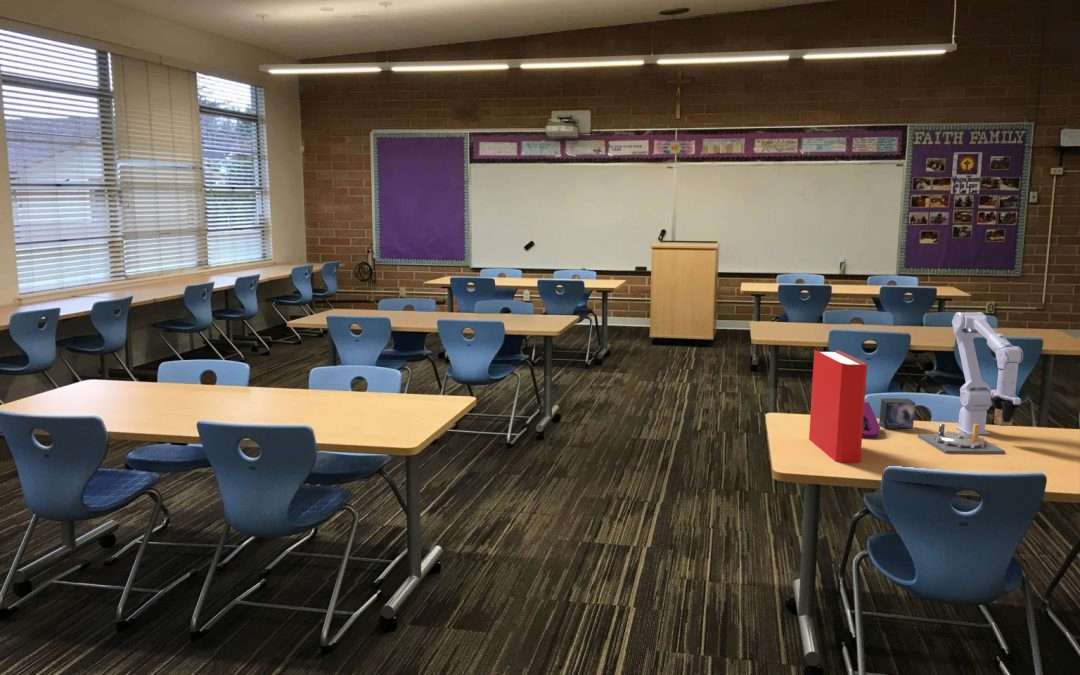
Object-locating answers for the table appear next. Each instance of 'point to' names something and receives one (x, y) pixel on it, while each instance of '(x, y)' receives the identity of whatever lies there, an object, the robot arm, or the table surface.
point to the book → (838, 405)
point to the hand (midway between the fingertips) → (1003, 420)
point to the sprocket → (959, 439)
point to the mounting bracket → (869, 423)
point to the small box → (897, 413)
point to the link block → (1001, 418)
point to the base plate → (963, 450)
